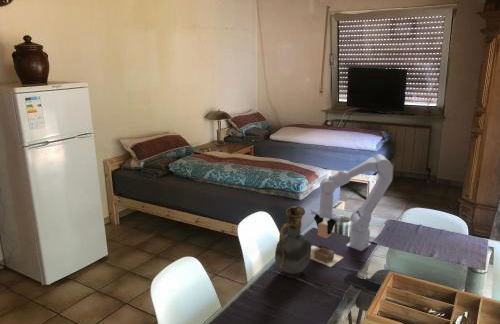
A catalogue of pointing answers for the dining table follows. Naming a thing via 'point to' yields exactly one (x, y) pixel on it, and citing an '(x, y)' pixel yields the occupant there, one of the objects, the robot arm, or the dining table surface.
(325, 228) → the top block
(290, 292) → the dining table surface
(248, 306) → the dining table surface
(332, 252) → the base block
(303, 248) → the pitcher
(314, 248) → the board
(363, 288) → the phone
